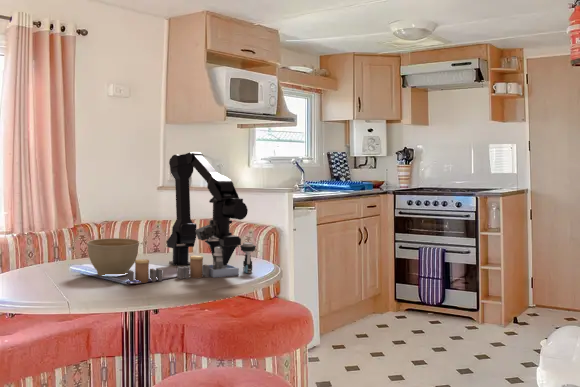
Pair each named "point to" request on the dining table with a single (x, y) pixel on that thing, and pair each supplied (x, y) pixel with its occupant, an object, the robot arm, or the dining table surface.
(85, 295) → the dining table surface
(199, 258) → the tan cylinder
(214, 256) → the pill bottle
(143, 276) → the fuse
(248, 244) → the push button
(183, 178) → the robot arm
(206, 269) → the clip row
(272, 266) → the dining table surface
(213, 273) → the tray
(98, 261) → the planter bowl
